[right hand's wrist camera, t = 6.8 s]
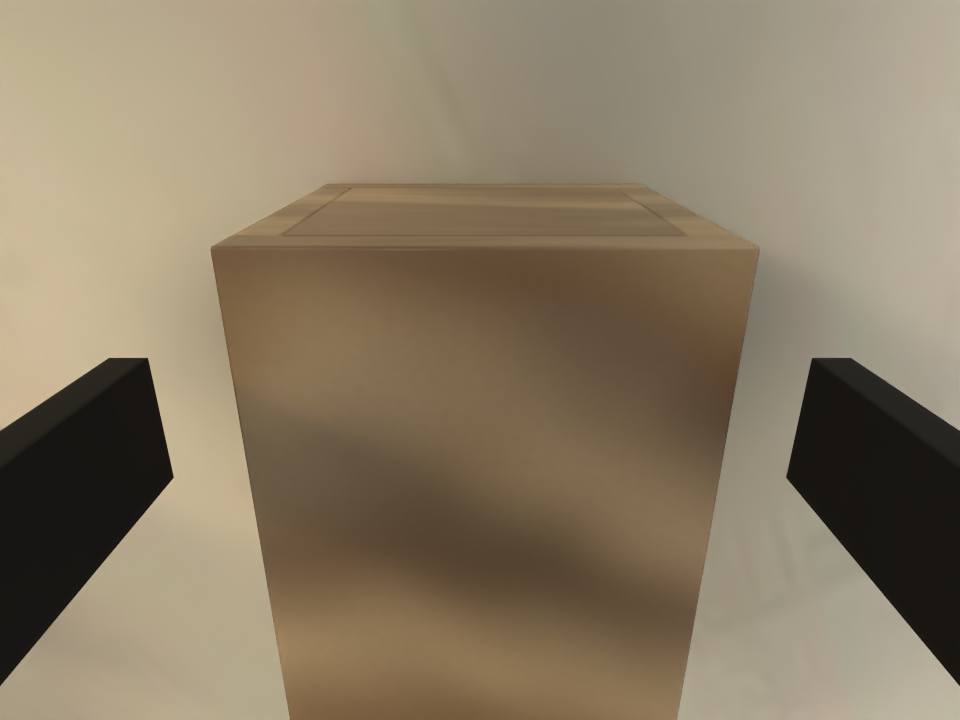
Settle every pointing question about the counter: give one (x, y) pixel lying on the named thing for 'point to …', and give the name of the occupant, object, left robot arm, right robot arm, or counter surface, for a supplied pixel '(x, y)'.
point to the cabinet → (484, 442)
